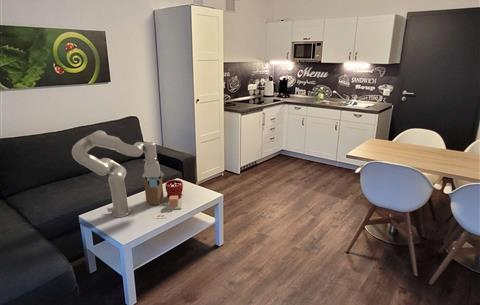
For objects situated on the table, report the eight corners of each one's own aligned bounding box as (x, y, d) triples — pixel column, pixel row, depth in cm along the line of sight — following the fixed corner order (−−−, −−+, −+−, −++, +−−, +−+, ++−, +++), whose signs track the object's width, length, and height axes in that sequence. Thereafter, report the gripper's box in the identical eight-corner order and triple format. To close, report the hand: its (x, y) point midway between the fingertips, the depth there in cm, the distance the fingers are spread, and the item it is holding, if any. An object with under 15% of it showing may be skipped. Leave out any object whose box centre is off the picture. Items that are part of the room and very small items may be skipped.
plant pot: (163, 199, 240) (162, 185, 237) (171, 192, 252) (170, 178, 249) (178, 201, 236) (177, 187, 233) (186, 194, 248) (185, 180, 245)
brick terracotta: (169, 207, 226) (169, 199, 224) (170, 203, 231) (169, 195, 229) (178, 206, 226) (177, 199, 224) (178, 202, 232) (178, 195, 230)
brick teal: (149, 187, 215) (148, 179, 213) (151, 184, 220) (150, 176, 218) (157, 187, 216) (156, 178, 214) (158, 184, 220) (157, 176, 219)
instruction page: (154, 218, 212) (154, 218, 212) (155, 214, 218) (155, 214, 217) (166, 218, 213) (166, 217, 213) (167, 213, 218) (167, 213, 218)
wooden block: (158, 205, 231) (156, 180, 225) (146, 204, 233) (143, 179, 227) (164, 199, 240) (162, 175, 234) (152, 198, 242) (149, 174, 236)
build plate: (166, 210, 224) (166, 208, 224) (168, 203, 233) (168, 202, 233) (180, 209, 225) (180, 207, 225) (181, 202, 234) (181, 201, 234)
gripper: (137, 162, 208) (140, 188, 213) (163, 161, 209) (165, 186, 215) (139, 159, 215) (142, 183, 220) (164, 158, 217) (167, 182, 222)
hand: (154, 185), depth 218 cm, fingers closed on brick teal, 5 cm apart
